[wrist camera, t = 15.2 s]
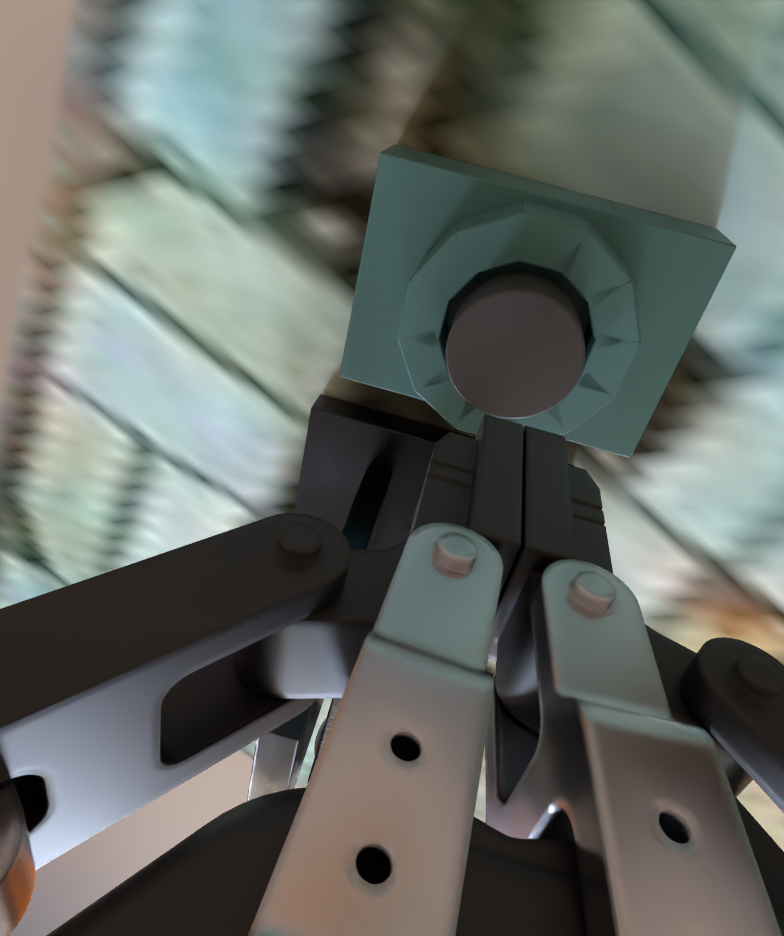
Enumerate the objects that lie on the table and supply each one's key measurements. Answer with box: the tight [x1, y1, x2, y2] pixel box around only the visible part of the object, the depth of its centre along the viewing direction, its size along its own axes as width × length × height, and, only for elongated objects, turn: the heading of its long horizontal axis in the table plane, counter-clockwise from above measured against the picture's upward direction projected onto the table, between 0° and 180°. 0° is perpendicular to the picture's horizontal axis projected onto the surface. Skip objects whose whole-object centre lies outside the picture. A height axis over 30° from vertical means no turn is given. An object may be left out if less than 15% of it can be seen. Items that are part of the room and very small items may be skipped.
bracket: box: [247, 395, 575, 801], centre depth 21 cm, size 8×10×13 cm
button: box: [445, 272, 585, 419], centre depth 18 cm, size 4×4×2 cm
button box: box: [340, 144, 736, 458], centre depth 20 cm, size 10×7×4 cm
